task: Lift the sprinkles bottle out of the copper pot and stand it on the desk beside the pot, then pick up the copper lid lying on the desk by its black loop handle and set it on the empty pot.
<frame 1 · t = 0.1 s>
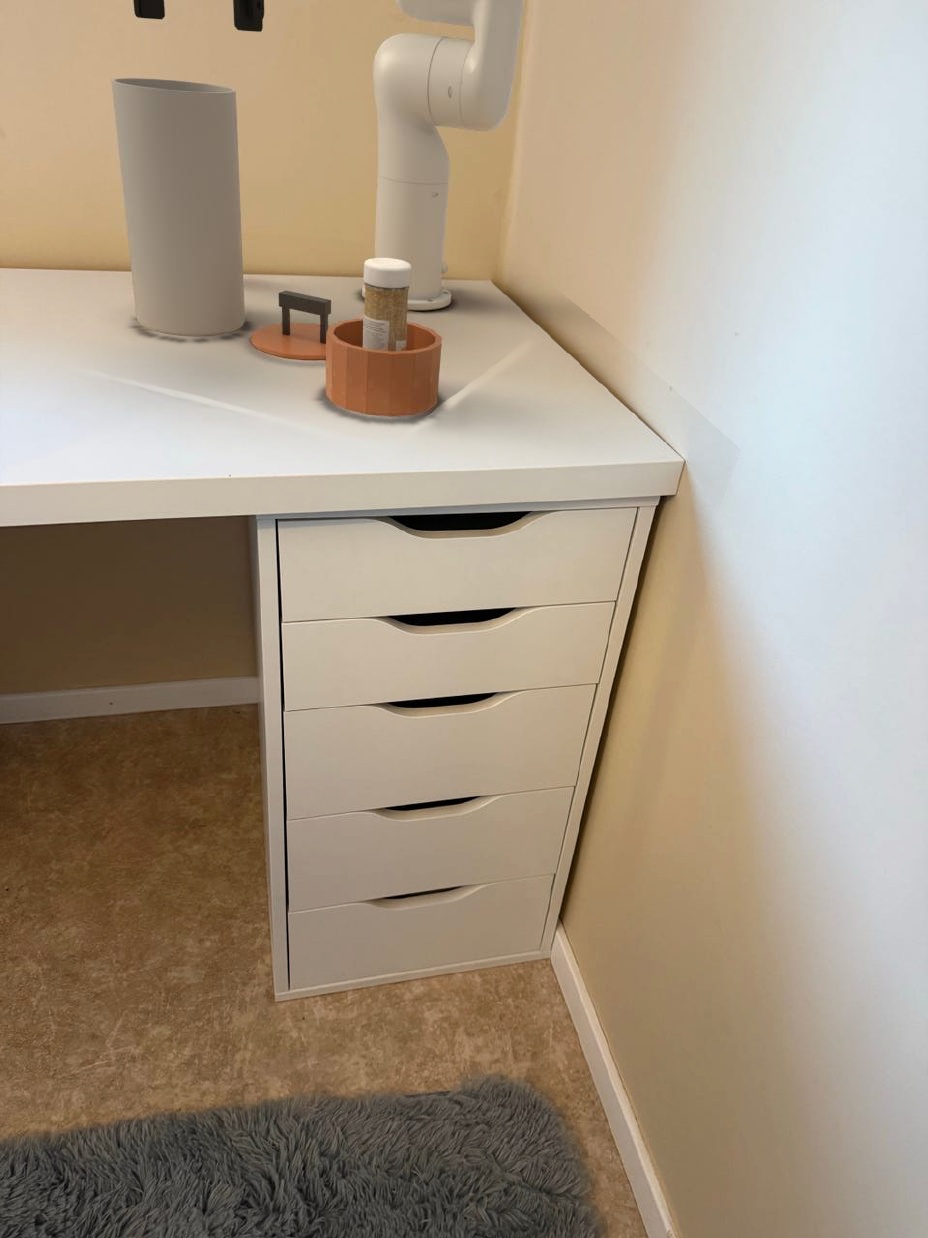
hand: (198, 24, 75), 31 cm above the table, tool pointing down, fingers open, 9 cm apart
lid: (305, 342, 105), point 1 cm above the table
pot: (381, 400, 93), on the table
cylinder vase: (192, 326, 109), on the table
sprinkles bottle: (381, 399, 93), resting on pot
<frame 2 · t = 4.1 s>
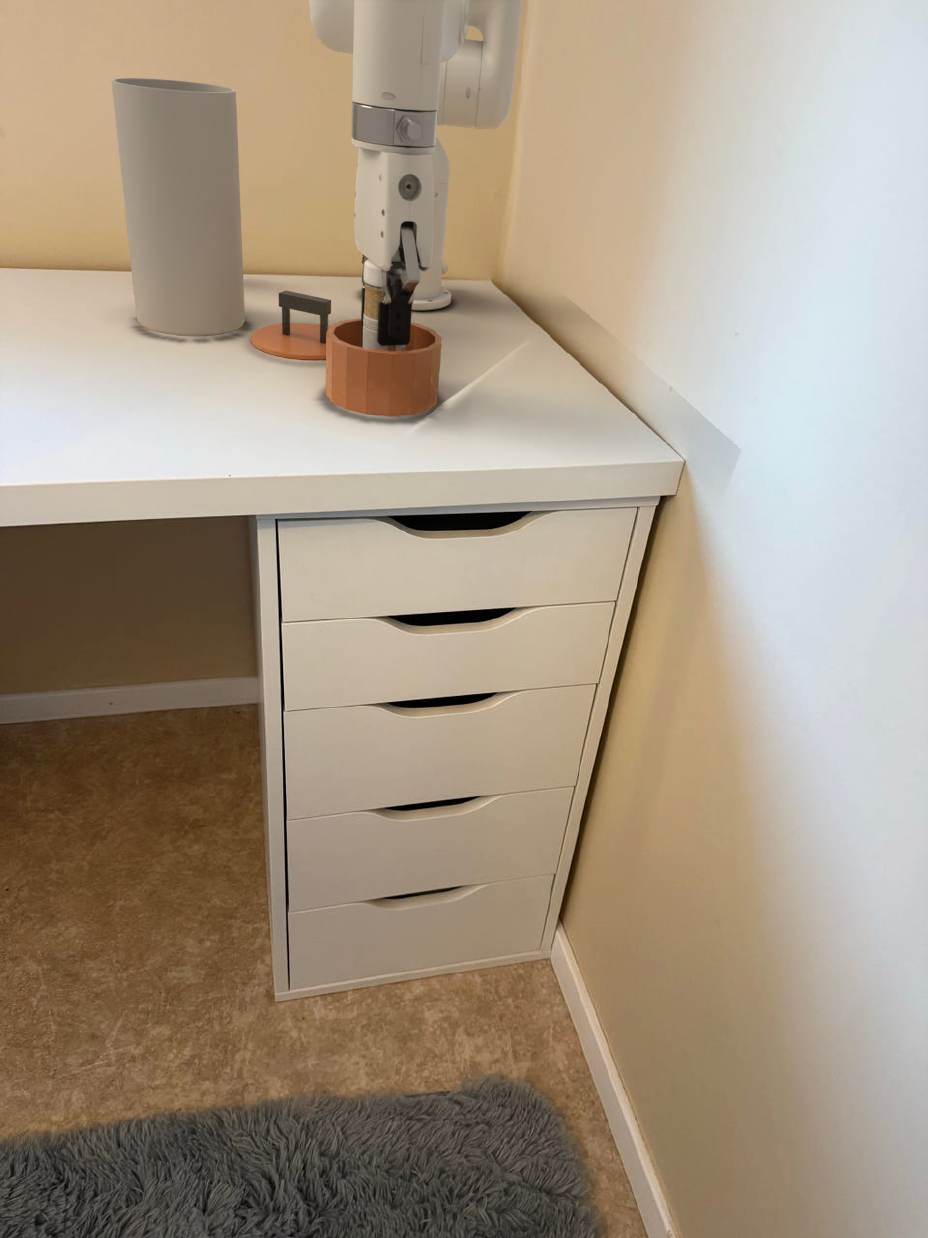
hand: (384, 334, 90), 7 cm above the table, tool pointing down, fingers closed on sprinkles bottle, 4 cm apart
sprinkles bottle: (381, 399, 93), resting on pot, touching gripper
everything else where it was.
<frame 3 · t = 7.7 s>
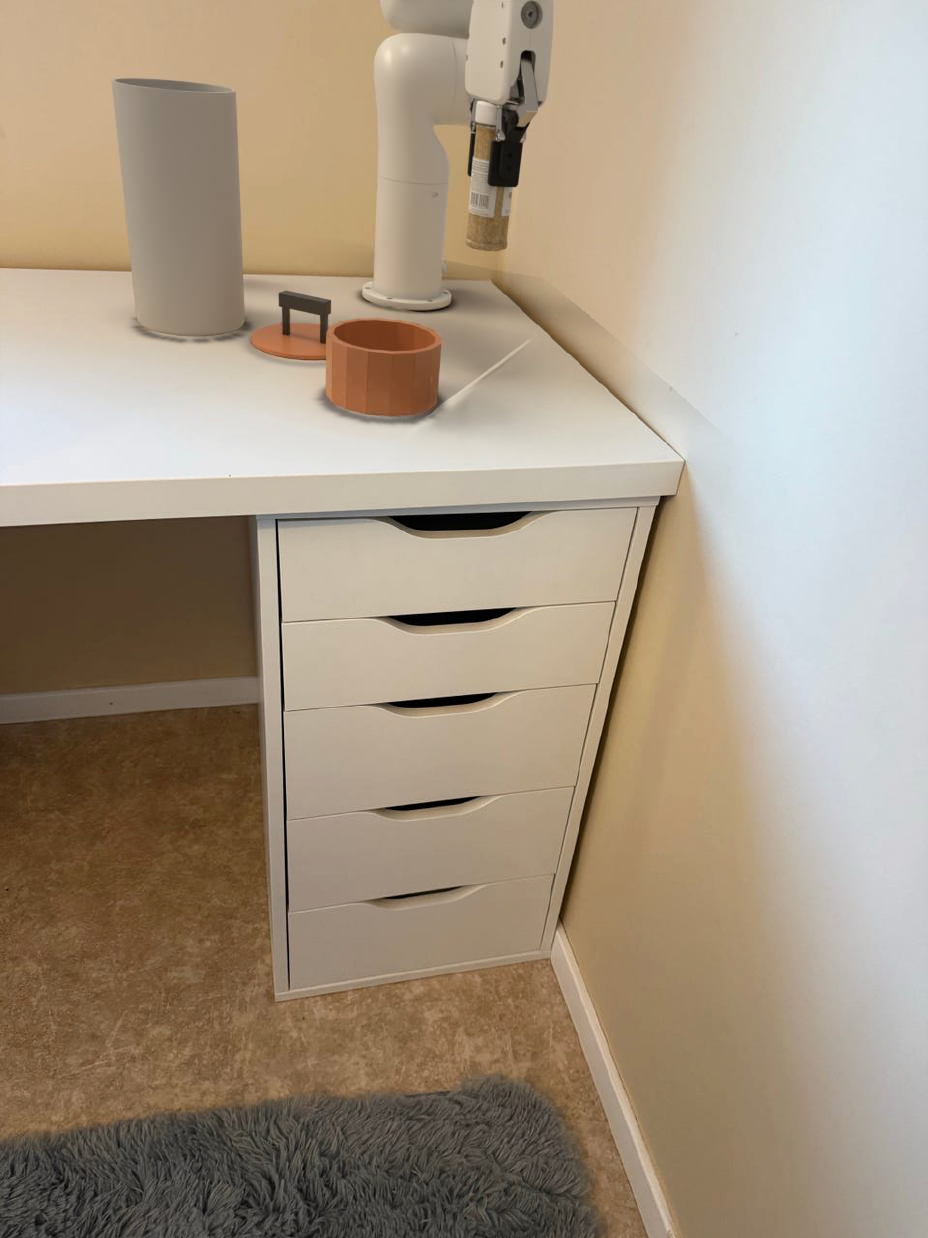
hand: (492, 179, 92), 20 cm above the table, tool pointing down, fingers closed on sprinkles bottle, 4 cm apart
sprinkles bottle: (485, 249, 95), point 14 cm above the table, touching gripper
everything else where it was.
when the fingers open (7 cm above the table, at t = 11.1 s): sprinkles bottle stays where it is, on the table.
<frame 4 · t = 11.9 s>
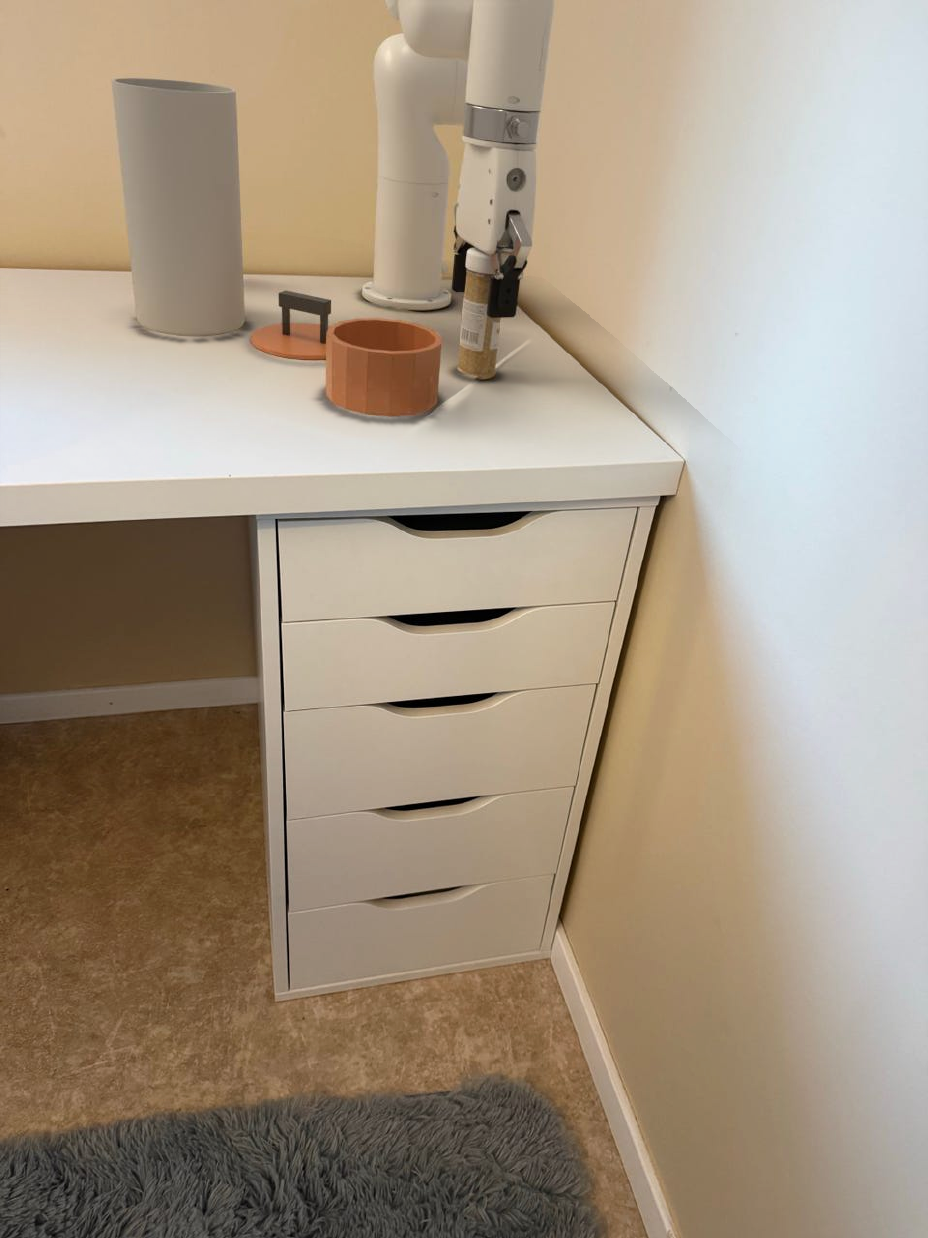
hand: (482, 303, 99), 8 cm above the table, tool pointing down, fingers open, 9 cm apart
sprinkles bottle: (475, 375, 103), on the table
everything else where it was.
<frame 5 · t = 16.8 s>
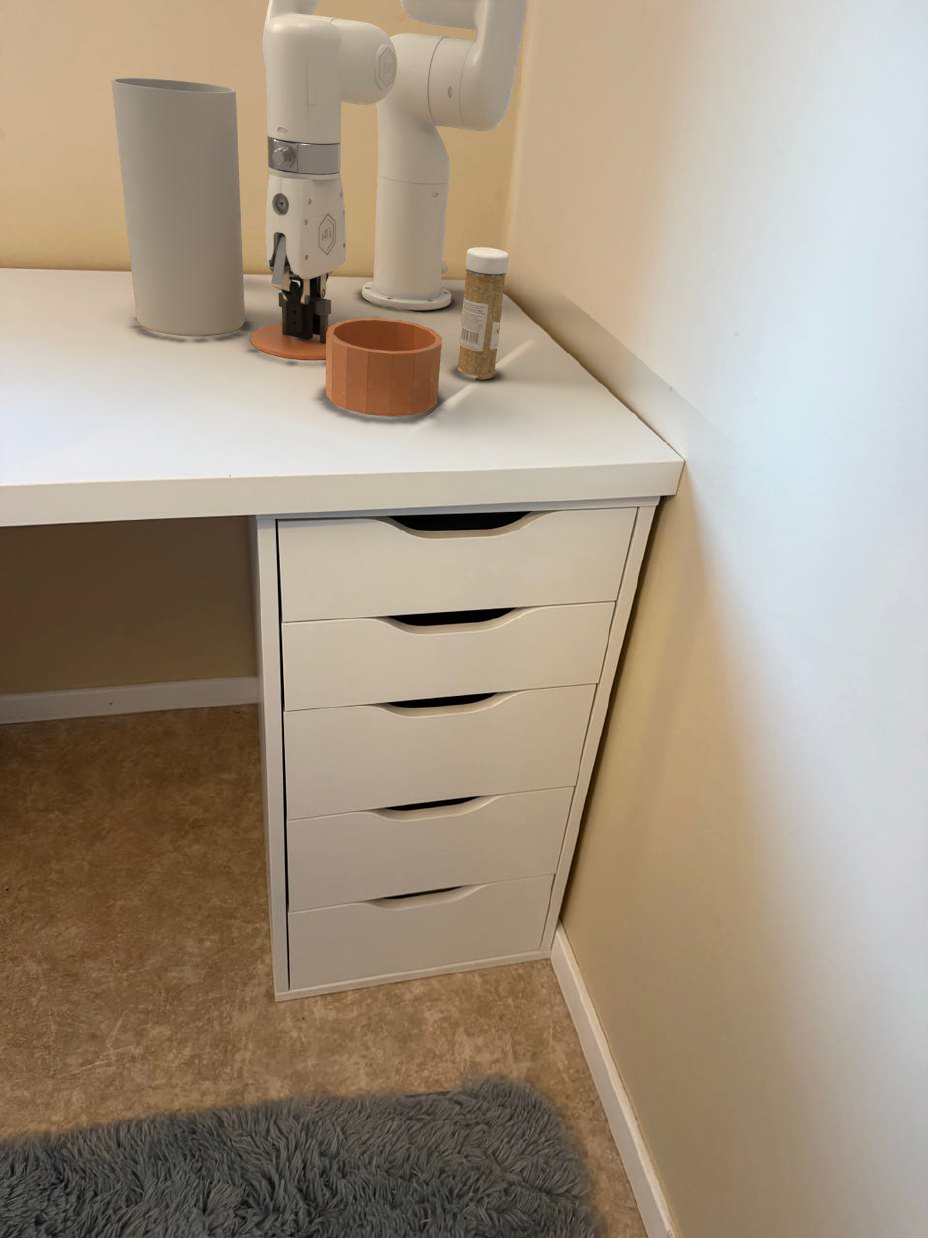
hand: (304, 333, 104), 2 cm above the table, tool pointing down, fingers closed on lid
lid: (305, 342, 105), point 1 cm above the table, touching gripper
everything else where it was.
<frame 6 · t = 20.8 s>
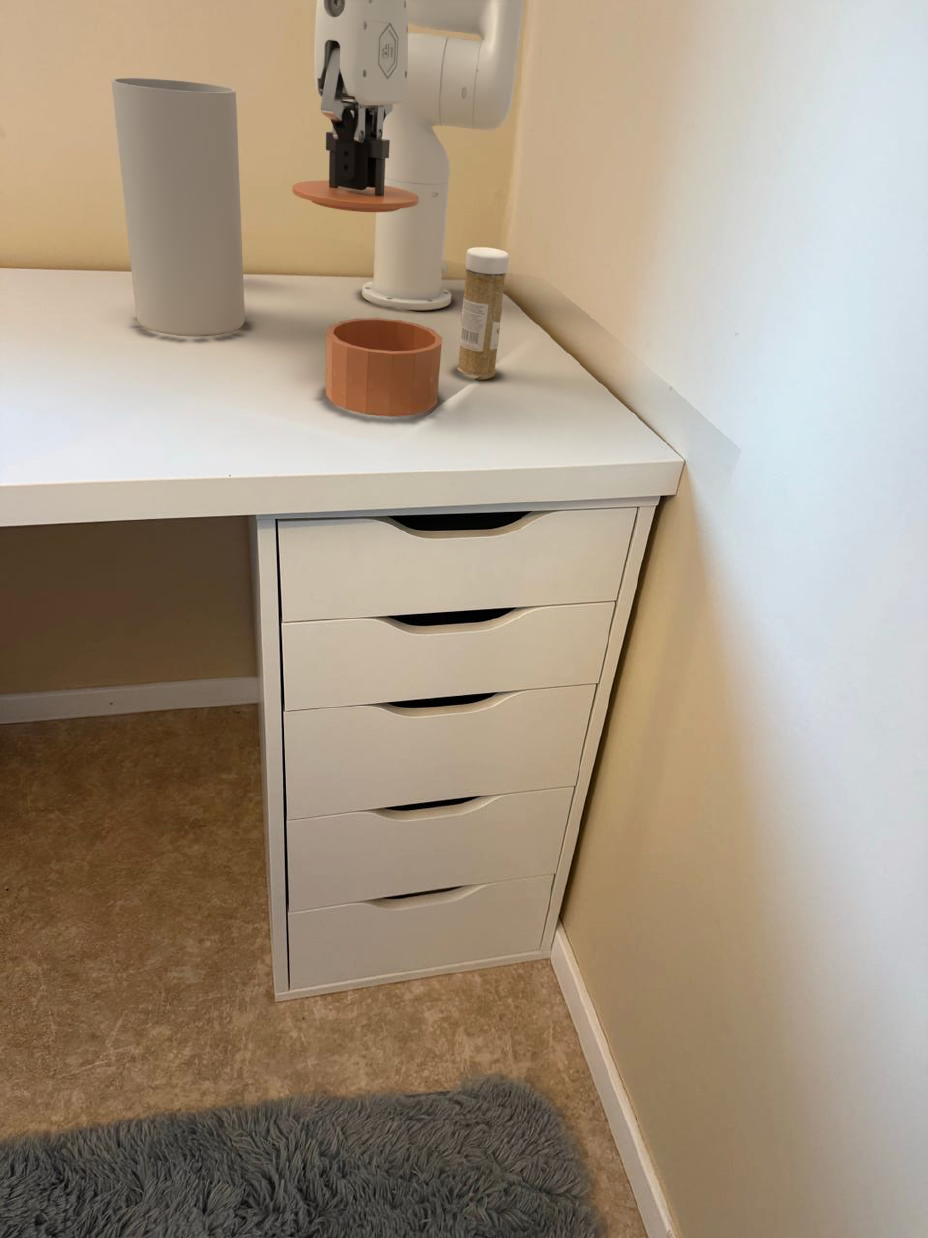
hand: (356, 185, 87), 19 cm above the table, tool pointing down, fingers closed on lid
lid: (356, 196, 88), point 18 cm above the table, touching gripper
everything else where it was.
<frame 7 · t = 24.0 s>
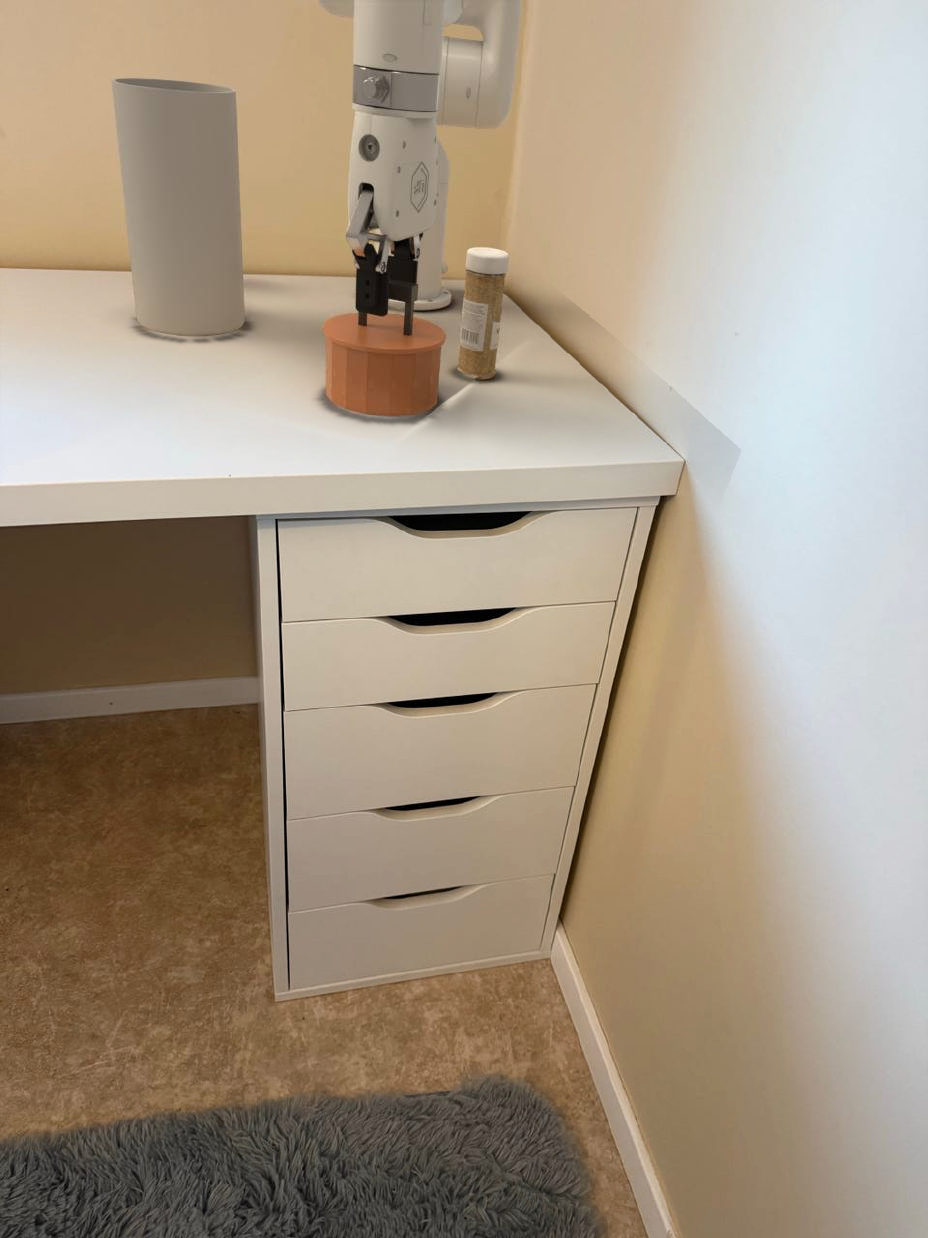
hand: (386, 304, 88), 10 cm above the table, tool pointing down, fingers open, 5 cm apart
lid: (384, 334, 90), point 7 cm above the table, touching pot
everything else where it was.
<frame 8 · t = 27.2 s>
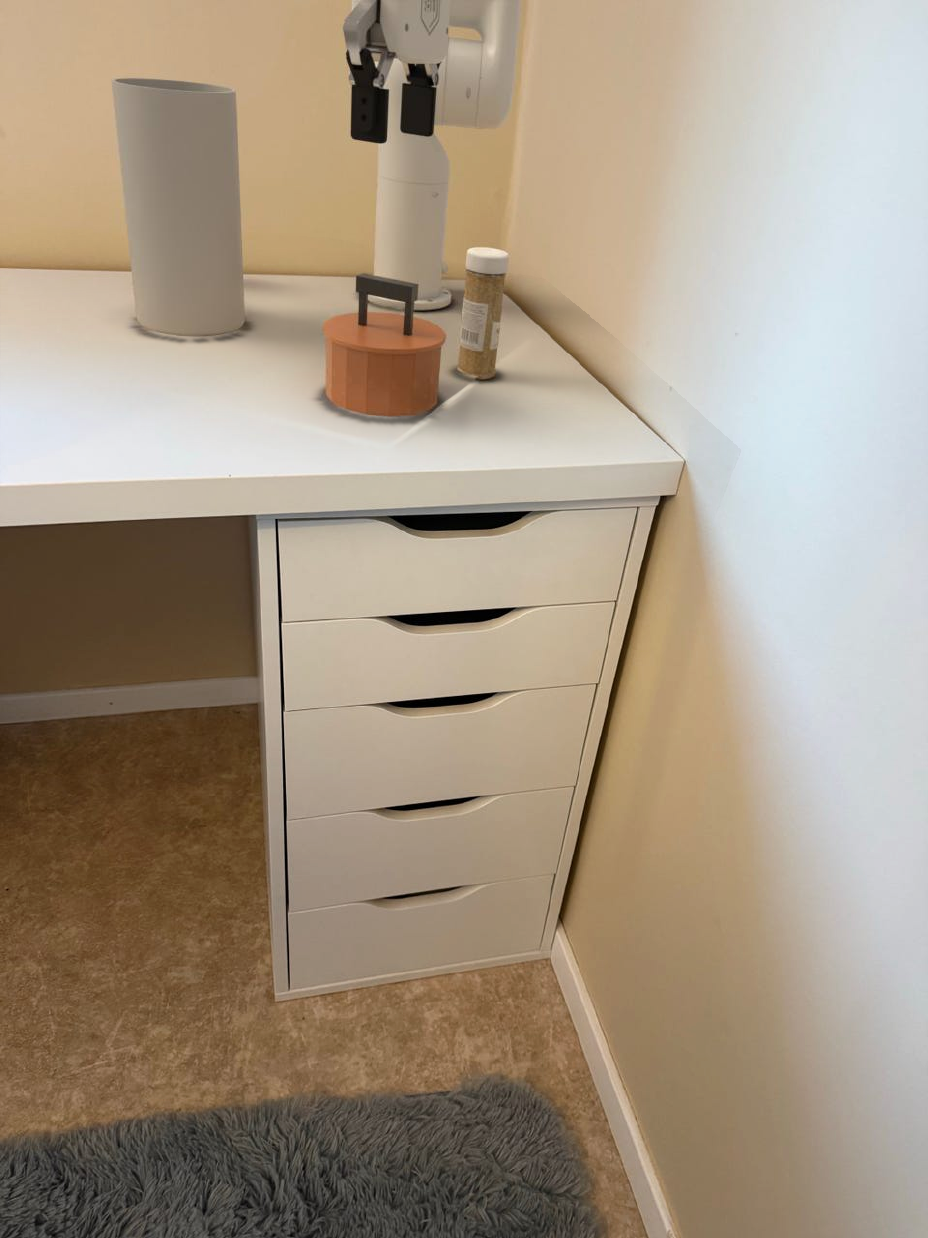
hand: (393, 137, 80), 24 cm above the table, tool pointing down, fingers open, 9 cm apart
nothing on the table moved.
at the end: sprinkles bottle 0.0 cm from the target spot, on the table; sprinkles bottle tilted 0°; lid 0.0 cm off-centre on the pot, point 6.8 cm above the pot's base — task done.
